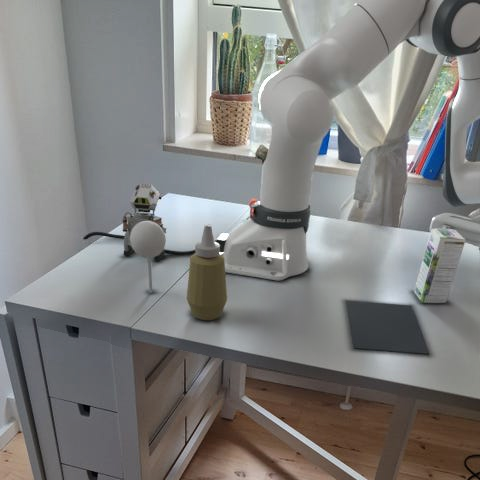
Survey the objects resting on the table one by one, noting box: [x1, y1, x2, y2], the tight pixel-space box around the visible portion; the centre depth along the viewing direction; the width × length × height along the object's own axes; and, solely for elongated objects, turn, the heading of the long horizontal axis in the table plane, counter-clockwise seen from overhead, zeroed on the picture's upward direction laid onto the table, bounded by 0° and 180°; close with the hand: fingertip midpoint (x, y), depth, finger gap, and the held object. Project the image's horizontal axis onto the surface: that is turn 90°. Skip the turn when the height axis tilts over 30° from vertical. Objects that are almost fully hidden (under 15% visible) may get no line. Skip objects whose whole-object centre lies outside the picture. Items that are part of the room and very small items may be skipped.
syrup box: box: [413, 229, 466, 304], centre depth 121 cm, size 6×6×14 cm
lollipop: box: [130, 221, 167, 294], centre depth 116 cm, size 7×7×15 cm
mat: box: [345, 300, 429, 355], centre depth 114 cm, size 14×20×1 cm
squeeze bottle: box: [186, 223, 228, 321], centre depth 109 cm, size 8×8×18 cm
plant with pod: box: [246, 144, 269, 220], centre depth 153 cm, size 8×11×20 cm
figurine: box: [122, 183, 167, 262], centre depth 133 cm, size 9×12×15 cm
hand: (462, 241), depth 126 cm, fingers open, 8 cm apart
